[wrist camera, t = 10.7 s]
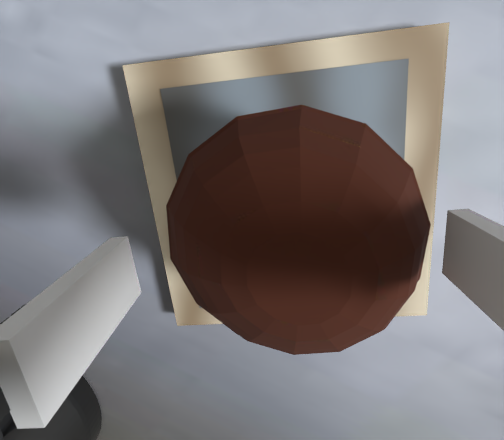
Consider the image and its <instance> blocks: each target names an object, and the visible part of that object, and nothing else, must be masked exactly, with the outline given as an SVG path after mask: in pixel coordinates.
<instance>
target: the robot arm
mask: <svg viewBox="0 0 504 440" xmlns="http://www.w3.org/2000/svg"><path fill="white" fill-rule="evenodd" d="M442 273H443V274H444V275H445V276H446V277H447V278H448V279H449V280H450V281H451V282H452V283H453V284H454V285H456V286H457V287H458V288H459V289H460V290H461V291H462V292H463V293H464V294H465V295H466V296H467V297H468V298H469V299H470V300H472V301H473V302H474V303H475V304H476V305H477V306H478V307H479V308H480V309H481V310H482V311H483V312H484V313H485V314H486V315H488V316H489V317H490V318H491V319H492V320H493V321H494V322H495V323H496V324H497V325H498V326H499V327H500V328H501V329H502V330H504V226H502V225H500V224H498V223H496V222H494V221H492V220H490V219H488V218H486V217H484V216H482V215H480V214H478V213H476V212H474V211H472V210H470V209H460V210H448V213H447V224H446V235H445V247H444V258H443V269H442ZM140 294H141V289H140V285H139V281H138V276H137V272H136V268H135V264H134V260H133V256H132V252H131V247H130V243H129V239H128V236H125V237H113V238H110V239H108V240H107V241H106V242H105V243H103V244H102V245H101V246H100V247H98V248H97V249H96V250H94V251H93V252H92V253H91V254H89V255H88V256H87V257H86V258H84V259H83V260H82V261H80V262H79V263H78V264H77V265H75V266H74V267H73V268H72V269H70V270H69V271H68V272H67V273H65V274H64V275H63V276H61V277H60V278H59V279H58V280H56V281H55V282H54V283H53V284H51V285H50V286H49V287H47V288H46V289H45V290H44V291H42V292H41V293H40V294H39V295H37V296H36V297H35V298H34V299H32V300H31V301H30V302H28V303H27V304H25V305H23V306H22V307H21V308H19V309H18V310H17V311H16V312H14V313H13V314H12V315H11V317H8V318H7V319H5V320H4V321H3V322H2V323H0V440H96V439H97V437H98V435H99V432H100V429H101V410H100V406H99V403H98V400H97V398H96V396H95V394H94V392H93V390H92V389H91V387H90V386H89V384H88V383H87V382H86V380H85V379H84V378H83V377H82V375H83V374H84V372H85V371H86V369H87V368H88V367H89V365H90V364H91V362H92V361H93V360H94V358H95V357H96V355H97V354H98V353H99V351H100V350H101V348H102V347H103V346H104V344H105V343H106V341H107V340H108V339H109V337H110V336H111V334H112V333H113V332H114V330H115V329H116V327H117V326H118V325H119V323H120V322H121V320H122V319H123V318H124V316H125V315H126V313H127V312H128V311H129V309H130V308H131V306H132V305H133V304H134V302H135V301H136V299H137V298H138V297H139V295H140Z"/></svg>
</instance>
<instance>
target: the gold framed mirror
mask: <svg viewBox="0 0 504 440" xmlns="http://www.w3.org/2000/svg"><path fill="white" fill-rule="evenodd" d="M448 33H449V22H448V23H441V24H433V25H425V26H418V27H410V28H403V29H395V30H387V31H380V32H372V33H365V34H357V35H349V36H342V37H334V38H327V39H319V40H311V41H304V42H296V43H289V44H281V45H273V46H266V47H258V48H251V49H243V50H235V51H228V52H220V53H213V54H205V55H197V56H190V57H182V58H175V59H167V60H159V61H152V62H144V63H137V64H129V65H122V66H123V70H124V75H125V80H126V85H127V89H128V94H129V99H130V104H131V108H132V113H133V118H134V122H135V127H136V132H137V137H138V141H139V146H140V151H141V156H142V160H143V165H144V170H145V175H146V179H147V184H148V189H149V194H150V198H151V203H152V208H153V213H154V217H155V222H156V227H157V232H158V236H159V241H160V246H161V251H162V255H163V260H164V265H165V270H166V274H167V279H168V284H169V289H170V293H171V298H172V303H173V308H174V312H175V317H176V322H177V326H181V325H205V324H223V323H222V322H220V321H219V320H218V319H216V318H215V317H214V316H212V315H211V314H210V313H208V312H207V311H206V310H204V309H203V308H202V307H200V306H199V305H198V304H196V302H195V300H194V298H193V297H192V295H191V293H190V292H189V290H188V288H187V286H186V285H185V283H184V281H183V280H182V278H181V276H180V274H179V273H178V271H177V269H176V268H175V266H174V264H173V262H172V261H171V259H170V248H169V236H168V223H167V211H166V205H167V203H168V200H169V198H170V196H171V193H172V191H173V189H174V186H175V184H176V182H177V179H178V177H179V175H180V172H181V170H182V168H183V166H184V163H185V161H186V159H187V156H188V154H189V153H191V152H192V151H193V150H194V149H196V148H197V147H198V146H200V145H201V144H202V143H203V142H205V141H206V140H207V139H208V138H210V137H211V136H212V135H214V134H215V133H216V132H217V131H219V130H220V129H221V128H223V127H224V126H225V125H226V124H228V123H229V122H230V121H231V120H233V119H234V118H235V117H237V116H242V115H247V114H253V113H258V112H264V111H269V110H275V109H280V108H285V107H291V106H296V105H305V106H308V107H312V108H315V109H318V110H322V111H325V112H329V113H332V114H335V115H339V116H342V117H345V118H349V119H352V120H356V121H359V122H362V123H366V124H367V125H368V126H369V127H370V128H371V129H372V130H373V131H374V132H376V133H377V134H378V135H379V136H380V137H381V138H382V139H383V140H384V141H385V142H386V143H387V144H388V145H389V146H390V147H391V148H392V149H393V150H394V151H395V152H396V153H397V154H398V155H400V156H401V157H402V158H403V159H404V160H405V161H406V162H407V163H408V164H409V165H410V166H411V167H412V168H413V170H414V173H415V177H416V180H417V183H418V186H419V189H420V192H421V195H422V199H423V202H424V205H425V208H426V211H427V214H428V217H429V221H430V224H431V227H430V232H429V237H428V242H427V247H426V252H425V257H424V262H423V267H422V272H421V277H420V280H419V281H418V282H417V285H416V288H415V291H414V292H413V294H412V295H411V296H410V298H409V299H408V300H407V301H406V303H405V304H404V305H403V306H402V308H401V309H400V310H399V312H398V313H397V314H396V315H395V316H419V315H427V305H428V292H429V279H430V266H431V253H432V240H433V227H434V214H435V201H436V188H437V175H438V162H439V149H440V136H441V124H442V111H443V98H444V85H445V72H446V59H447V46H448Z"/></svg>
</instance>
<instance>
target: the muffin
mask: <svg viewBox="0 0 504 440" xmlns="http://www.w3.org/2000/svg"><path fill="white" fill-rule="evenodd" d="M166 211H167V223H168V236H169V248H170V259H171V261H172V262H173V264H174V266H175V268H176V269H177V271H178V273H179V274H180V276H181V278H182V280H183V281H184V283H185V285H186V286H187V288H188V290H189V292H190V293H191V295H192V297H193V298H194V300H195V302H196V304H198V305H199V306H200V307H202V308H203V309H204V310H206V311H207V312H208V313H210V314H211V315H212V316H214V317H215V318H216V319H218V320H219V321H220V322H222V323H223V324H224V325H226V326H227V327H228V328H230V329H231V330H232V331H234V332H235V333H236V334H238V335H240V336H241V337H242V338H244V339H245V340H247V341H249V342H253V343H256V344H259V345H263V346H266V347H270V348H273V349H276V350H280V351H283V352H286V353H290V354H293V355H296V354H311V353H326V352H340V351H342V350H344V349H346V348H348V347H350V346H352V345H354V344H356V343H358V342H360V341H362V340H364V339H366V338H368V337H370V336H372V335H374V334H377V333H379V332H381V331H382V330H384V329H385V328H386V327H387V326H388V324H389V323H390V322H391V320H392V319H393V318H394V317H395V315H396V314H397V313H398V312H399V310H400V309H401V308H402V306H403V305H404V304H405V303H406V301H407V300H408V299H409V298H410V296H411V295H412V294H413V292H414V291H415V288H416V285H417V282H418V281H419V280H420V277H421V272H422V267H423V262H424V257H425V252H426V247H427V242H428V237H429V232H430V227H431V224H430V221H429V217H428V214H427V211H426V208H425V205H424V202H423V199H422V195H421V192H420V189H419V186H418V183H417V180H416V177H415V173H414V170H413V168H412V167H411V166H410V165H409V164H408V163H407V162H406V161H405V160H404V159H403V158H402V157H401V156H400V155H398V154H397V153H396V152H395V151H394V150H393V149H392V148H391V147H390V146H389V145H388V144H387V143H386V142H385V141H384V140H383V139H382V138H381V137H380V136H379V135H378V134H377V133H376V132H374V131H373V130H372V129H371V128H370V127H369V126H368V125H367V124H366V123H362V122H359V121H356V120H352V119H349V118H345V117H342V116H339V115H335V114H332V113H329V112H325V111H322V110H318V109H315V108H312V107H308V106H305V105H296V106H291V107H285V108H280V109H275V110H269V111H264V112H258V113H253V114H247V115H242V116H237V117H235V118H234V119H233V120H231V121H230V122H229V123H228V124H226V125H225V126H224V127H223V128H221V129H220V130H219V131H217V132H216V133H215V134H214V135H212V136H211V137H210V138H208V139H207V140H206V141H205V142H203V143H202V144H201V145H200V146H198V147H197V148H196V149H194V150H193V151H192V152H191V153H189V154H188V156H187V159H186V161H185V163H184V166H183V168H182V170H181V172H180V175H179V177H178V179H177V182H176V184H175V186H174V189H173V191H172V193H171V196H170V198H169V200H168V203H167V205H166Z"/></svg>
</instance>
